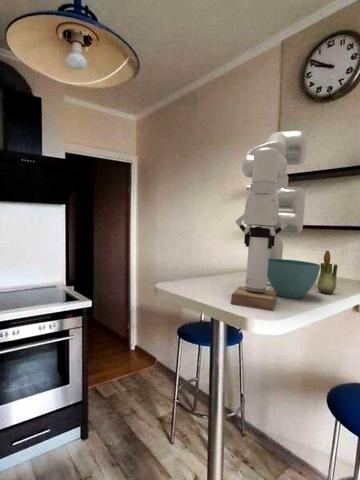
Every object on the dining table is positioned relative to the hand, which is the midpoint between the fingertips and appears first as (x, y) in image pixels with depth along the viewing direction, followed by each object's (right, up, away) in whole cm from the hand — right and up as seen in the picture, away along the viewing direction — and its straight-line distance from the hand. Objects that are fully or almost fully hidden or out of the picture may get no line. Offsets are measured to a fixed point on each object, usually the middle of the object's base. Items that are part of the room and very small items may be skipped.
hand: (258, 247), depth 90 cm
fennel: (+39, -19, +35) cm, 55 cm away
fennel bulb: (+32, -19, +22) cm, 43 cm away
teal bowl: (+15, -18, +14) cm, 27 cm away
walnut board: (-1, -17, +1) cm, 17 cm away
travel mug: (-1, -14, +1) cm, 14 cm away
